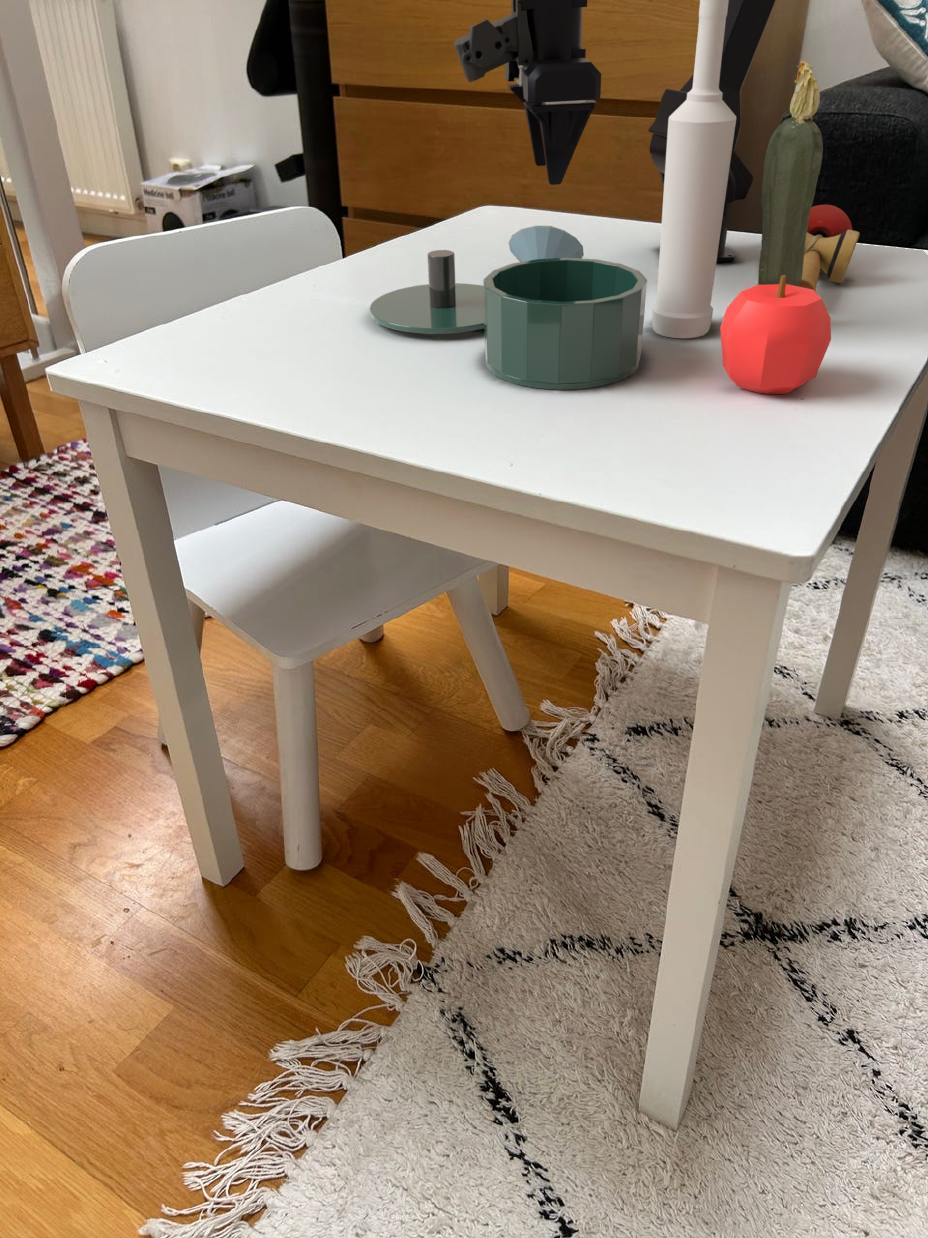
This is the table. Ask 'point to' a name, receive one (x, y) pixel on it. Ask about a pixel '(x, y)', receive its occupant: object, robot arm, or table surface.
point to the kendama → (827, 245)
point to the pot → (564, 322)
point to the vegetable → (790, 185)
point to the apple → (774, 337)
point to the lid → (433, 302)
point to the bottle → (695, 189)
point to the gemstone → (544, 244)
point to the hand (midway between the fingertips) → (547, 174)
